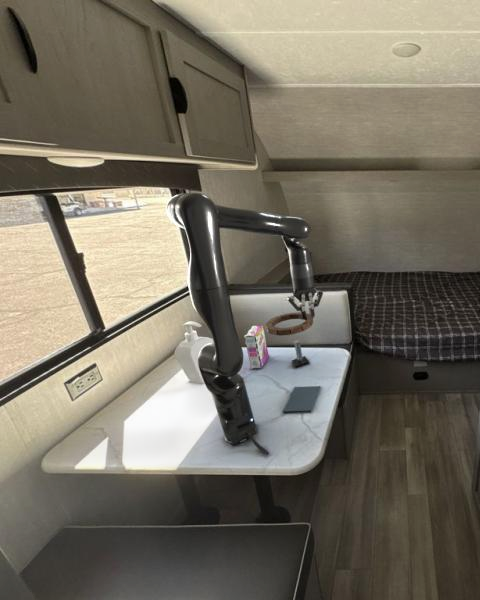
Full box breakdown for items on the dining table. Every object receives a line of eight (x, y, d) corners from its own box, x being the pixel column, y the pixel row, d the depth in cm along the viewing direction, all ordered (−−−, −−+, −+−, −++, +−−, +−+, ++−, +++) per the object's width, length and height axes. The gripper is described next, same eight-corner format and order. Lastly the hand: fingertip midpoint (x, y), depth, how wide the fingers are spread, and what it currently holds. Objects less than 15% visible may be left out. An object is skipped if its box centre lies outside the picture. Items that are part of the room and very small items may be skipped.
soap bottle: (204, 386, 127) (186, 330, 118) (184, 384, 129) (165, 328, 120) (226, 369, 138) (211, 317, 129) (207, 367, 140) (191, 315, 131)
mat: (311, 412, 111) (310, 410, 111) (283, 413, 111) (282, 411, 111) (320, 387, 124) (320, 386, 124) (295, 388, 124) (295, 386, 124)
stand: (309, 363, 141) (305, 342, 136) (296, 368, 138) (291, 346, 133) (305, 358, 145) (301, 337, 141) (292, 362, 142) (288, 340, 138)
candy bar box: (262, 368, 138) (255, 335, 132) (251, 369, 138) (243, 336, 132) (269, 355, 149) (263, 324, 143) (258, 356, 148) (251, 325, 142)
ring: (318, 327, 112) (318, 322, 111) (273, 339, 104) (271, 334, 103) (304, 313, 125) (304, 309, 124) (262, 324, 116) (261, 319, 116)
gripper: (285, 280, 105) (293, 326, 111) (324, 273, 112) (329, 317, 118) (279, 275, 111) (287, 320, 117) (317, 269, 118) (322, 311, 124)
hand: (308, 318), depth 118 cm, fingers closed on ring, 2 cm apart
